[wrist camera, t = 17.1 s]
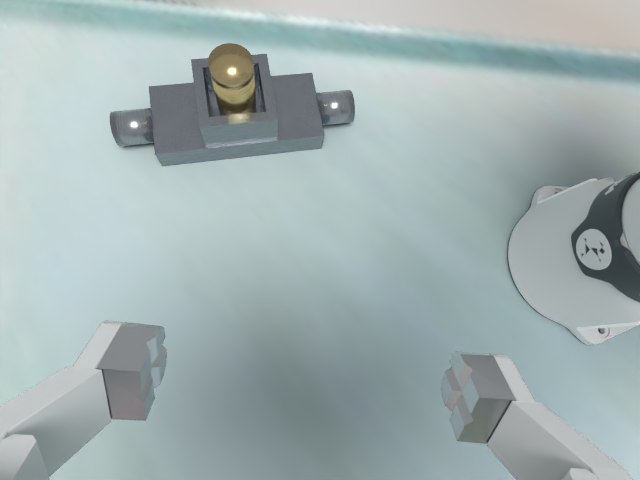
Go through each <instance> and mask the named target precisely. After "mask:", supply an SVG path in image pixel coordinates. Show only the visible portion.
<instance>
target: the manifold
mask: <svg viewBox="0 0 640 480" xmlns="http://www.w3.org/2000/svg"><path fill="white" fill-rule="evenodd" d="M251 56H252V58H253V66H254V80H255V95H256V109H257V113H247V114H237V115H226V116H220V113H219V108H218V104H217V100H216V95H215V91H214V87H213V82H212V78H211V74H210V69H209V65H208V59H209V58H205V59H192V60H191V62H192V71H193V79H194V83H186V84H174V85H162V86H150V87H149V93H150V104H151V108H147V109H136V110H125V111H114V112H111V113H110V125H111V130H112V134H113V137H114V139H115V141H116V143H117V144H118V145H119V146H128V145H138V144H147V143H154V147H155V155H156V156H157V158H158V159H159V161H160V163H161V164H162V166H168V165H177V164H186V163H195V162H204V161H213V160H221V159H230V158H239V157H248V156H257V155H266V154H275V153H284V152H293V151H301V150H310V149H319V148H321V147H322V143H323V139H324V131H323V126H322V125H330V124H340V123H350V122H353V120H354V114H355V105H354V98H353V94H352V92H351V90H345V91H334V92H323V93H316V91H315V85H314V80H313V75H312V73H305V74H293V75H281V76H270V71H269V65H268V59H267V54H259V55H251Z"/></svg>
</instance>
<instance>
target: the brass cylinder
mask: <svg viewBox="0 0 640 480" xmlns="http://www.w3.org/2000/svg"><path fill="white" fill-rule="evenodd" d="M208 65H209V69H210V74H211V78H212V82H213V87H214V91H215V95H216V100H217V104H218V108H219V113H220V116H226V115H237V114H247V113H257V109H256V95H255V80H254V66H253V58H252V56H251V54H250V53H249V51H248V50H247V49H245V48H244V47H242V46H240V45H237V44H232V43H228V44H222V45H220V46H218V47H216V48H215V49H214V50H213V51H212V52H211V54H210V56H209V59H208Z"/></svg>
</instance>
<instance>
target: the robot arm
mask: <svg viewBox="0 0 640 480" xmlns="http://www.w3.org/2000/svg"><path fill="white" fill-rule="evenodd" d="M508 260H509V267H510V271H511V274H512V277H513V280H514V282H515V284H516V286H517V288H518V290H519V291H520V293H521V294H522V296H523V297H524V299H525V300H526V301H527V302H528V303H529V304H530V305H531V306H532V307H533V308H534V309H535V310H536V311H538V312H539V313H540V314H542V315H543V316H545V317H546V318H548V319H550V320H552V321H555V322H557V323H559V324H561V325H563V326H565V327H566V328H568V329H569V330H570V331H571V332H572V333H573V334H574V335H575V336H576V337H577V338H578V339H579V340H580V341H581V342H583V343H584V344H586V345H595V344H600V343H602V342H604V341H606V340H608V339H610V338H612V337H614V336H616V335H619V334H621V333H623V332H625V331H627V330H629V329H631V328H633V327H635V326H638V325H640V172H638V173H633V174H631V175H628V176H626V177H624V178H622V179H620V180H618V181H616V182H615V181H614V178H613V177H607V178H603V179H600V180H598V179H597V178H593V179H589V180H587V181H584V182H582V183H580V184H577V185H575V186H573V187H563V186H544V187H541V188H539V189H537V190H536V192H535V194H534V196H533V199H532V203H531V206H530V209H529V210H528V211H527V213H526V214H525V215H524V216H523V217H522V218H521V219H520V220H519V222H518V223H517V224H516V226H515V228H514V230H513V232H512V234H511V237H510V241H509V248H508ZM598 328H599V329H600V333H599V332H598ZM164 339H165V329H164V327H162V326H154V325H145V324H136V323H127V322H125V323H123V322H114V321H104V322H103V323H101V324H100V326H99V327H98V329H97V330H96V332H95V333H94V335H93V336H92V338H91V339H90V341H89V343H88V344H87V346H86V347H85V349H84V350H83V352H82V353H81V355H80V356H79V358H78V359H77V361H76V362H75V364H74V366H73V367H65V368H64V369H62V370H60V371H59V372H57V373H55V374H54V375H52V376H50V377H49V378H47V379H45V380H43V381H42V382H40V383H38V384H37V385H35V386H33V387H32V388H30V389H28V390H26V391H25V392H23V393H21V394H20V395H18V396H16V397H15V398H13V399H11V400H10V401H8V402H6V403H4V404H3V405H1V406H0V480H50V479H49V477H50V476H51V475H52V474H53V473H54V472H55V471H56V470H57V469H59V468H60V467H61V466H62V465H63V464H64V463H65V462H66V461H67V460H69V459H70V458H71V457H72V456H73V455H74V454H75V453H76V452H77V451H79V450H80V449H81V448H82V447H83V446H84V445H85V444H86V443H88V442H89V441H90V440H91V439H92V438H93V437H94V436H95V435H96V434H98V433H99V432H100V431H101V430H102V429H103V428H104V427H105V426H106V425H108V424H109V423H110V422H111V419H121V420H146V419H147V416H148V414H149V411H150V409H151V406H152V404H153V401H154V399H155V396H154V388H156V387H157V386H158V385H160V383H161V381H162V378H163V375H164V371H165V367H166V358H167V352H166V348H165V347H164V346H163V345H162V344H163V342H164ZM450 363H451V366H452V367H451V368H450V369H448V370H447V371H445V373H444V376H443V379H442V387H441V391H442V397H443V400H444V404H445V406H447V407H448V408H449V409H450V410H451V411H452V412H453V413H452V415H451V417H450V422H451V424H452V427H453V430H454V433H455V436H456V439H457V441H464V442H474V443H485V444H487V446H488V448H489V449H490V450H491V451H492V452H493V453H494V454H495V456H496V457H497V458H498V459H499V460H500V461H501V462H502V464H503V465H504V466H505V467H506V468H507V469H508V471H509V472H510V473H511V474H512V475H513V476H514V477H515V479H516V480H633V479H632V477H631V476H630V474H629V473H628V472H627V470H626V469H624V468H623V467H622V466H621V465H619V464H618V463H617V462H615V461H614V460H613V459H612V458H610V457H609V456H608V455H607V454H605V453H604V452H603V451H601V450H600V449H599V448H598V447H596V446H595V445H594V444H592V443H591V442H590V441H589V440H587V439H586V438H585V437H584V436H582V435H581V434H580V433H578V432H577V431H576V430H575V429H573V428H572V427H571V426H570V425H568V424H567V423H566V422H564V421H563V420H562V419H561V418H559V417H558V416H557V415H556V414H554V413H553V412H552V411H550V410H549V409H548V408H547V407H545V406H544V405H543V404H542V403H536V402H535V400H534V399H533V397H532V395H531V393H530V392H529V390H528V388H527V386H526V385H525V383H524V381H523V379H522V377H521V376H520V374H519V372H518V370H517V369H516V367H515V365H514V363H513V362H512V360H511V358H510V357H508V356H507V355H497V354H483V353H470V352H457V351H456V352H455V353H454V354H453V355H452V357H451V359H450Z"/></svg>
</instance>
